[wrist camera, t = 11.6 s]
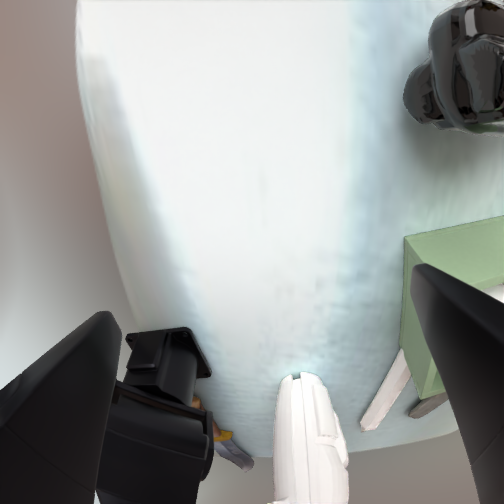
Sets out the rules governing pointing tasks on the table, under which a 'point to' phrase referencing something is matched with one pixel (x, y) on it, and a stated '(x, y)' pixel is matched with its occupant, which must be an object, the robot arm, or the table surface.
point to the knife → (226, 444)
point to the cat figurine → (462, 71)
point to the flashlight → (308, 445)
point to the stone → (428, 405)
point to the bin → (458, 265)
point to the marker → (387, 393)
